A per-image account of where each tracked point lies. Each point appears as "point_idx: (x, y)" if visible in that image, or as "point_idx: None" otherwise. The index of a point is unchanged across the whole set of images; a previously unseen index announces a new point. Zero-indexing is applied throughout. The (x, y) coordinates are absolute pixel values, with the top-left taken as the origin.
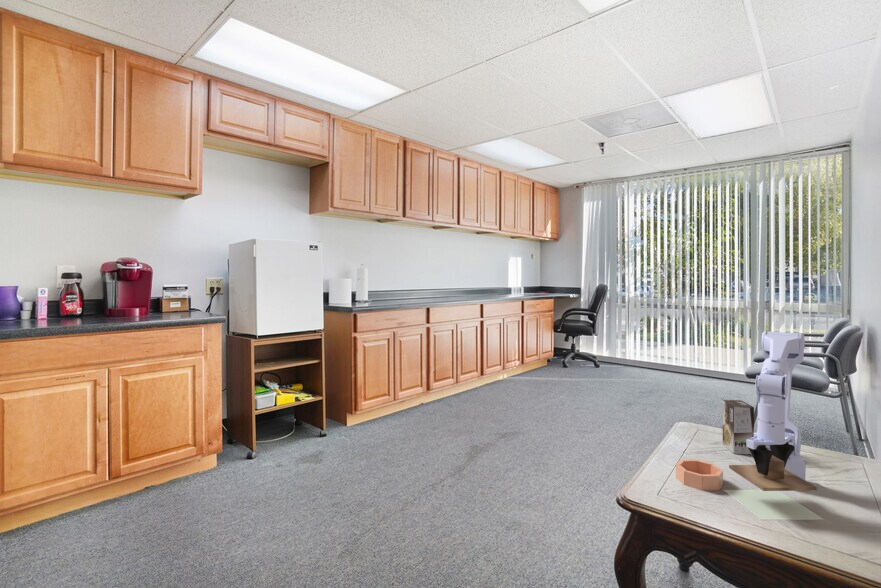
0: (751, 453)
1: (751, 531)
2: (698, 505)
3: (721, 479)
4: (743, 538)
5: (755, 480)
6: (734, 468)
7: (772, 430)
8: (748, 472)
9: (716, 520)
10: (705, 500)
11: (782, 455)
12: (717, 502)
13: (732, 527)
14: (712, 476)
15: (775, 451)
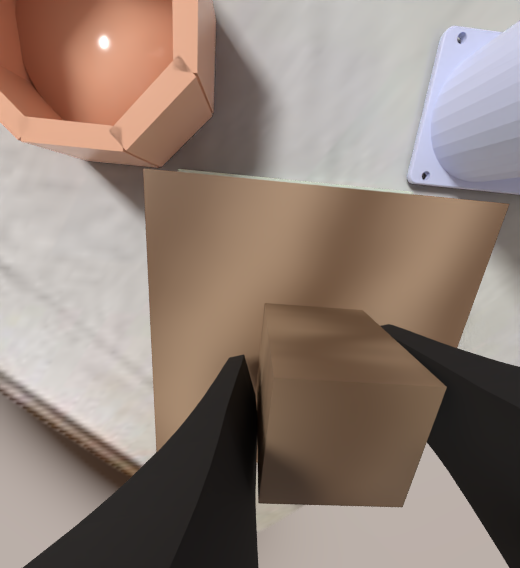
0: (130, 480)
1: (119, 407)
2: (23, 265)
3: (183, 119)
4: (78, 430)
5: (171, 394)
6: (146, 233)
7: None
8: (203, 302)
9: (45, 354)
10: (67, 232)
11: (482, 499)
12: (107, 251)
13: (76, 388)
14: (86, 149)
15: (505, 457)
